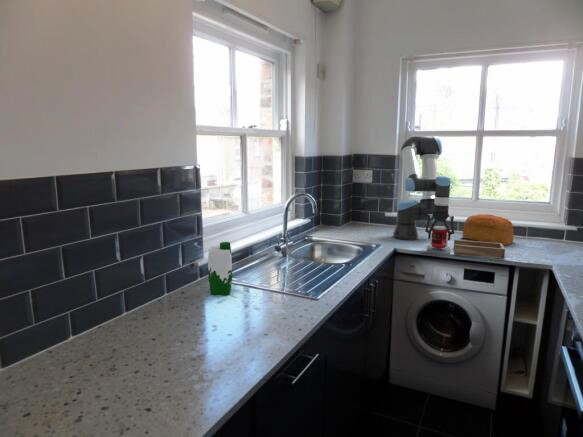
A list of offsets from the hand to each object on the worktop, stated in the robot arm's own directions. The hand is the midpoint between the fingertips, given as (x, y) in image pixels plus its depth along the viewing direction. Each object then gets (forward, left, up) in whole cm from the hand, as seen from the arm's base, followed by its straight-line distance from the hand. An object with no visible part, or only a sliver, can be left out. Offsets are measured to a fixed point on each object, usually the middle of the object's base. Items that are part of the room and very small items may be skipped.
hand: (438, 245), depth 228 cm
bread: (-35, +27, -3) cm, 44 cm away
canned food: (0, 0, -1) cm, 1 cm away
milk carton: (+101, -79, -3) cm, 128 cm away
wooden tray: (0, +20, -2) cm, 20 cm away
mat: (0, 0, -2) cm, 2 cm away
